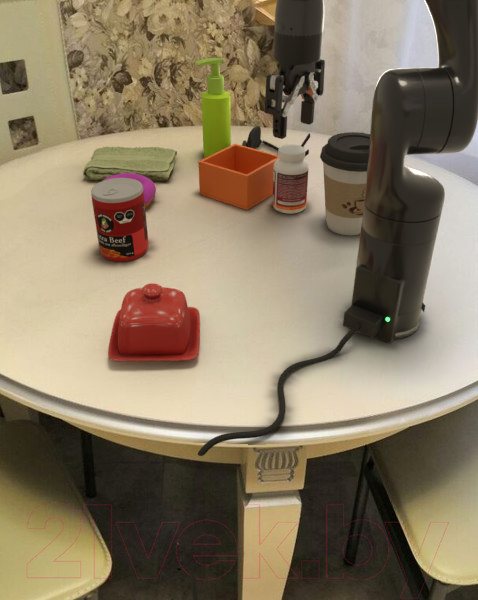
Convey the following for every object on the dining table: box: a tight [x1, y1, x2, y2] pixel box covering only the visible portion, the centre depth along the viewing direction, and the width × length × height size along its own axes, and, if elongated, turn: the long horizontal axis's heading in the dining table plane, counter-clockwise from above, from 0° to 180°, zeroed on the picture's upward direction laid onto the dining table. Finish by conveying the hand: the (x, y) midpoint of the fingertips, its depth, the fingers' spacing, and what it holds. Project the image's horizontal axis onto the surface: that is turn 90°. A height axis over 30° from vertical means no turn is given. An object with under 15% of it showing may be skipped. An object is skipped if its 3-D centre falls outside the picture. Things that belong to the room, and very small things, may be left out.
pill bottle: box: [272, 144, 310, 215], centre depth 110 cm, size 6×6×11 cm
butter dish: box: [107, 282, 201, 362], centre depth 79 cm, size 12×12×8 cm
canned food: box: [90, 178, 149, 263], centre depth 97 cm, size 8×8×11 cm
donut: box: [102, 173, 157, 209], centre depth 113 cm, size 10×10×5 cm
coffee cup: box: [319, 131, 370, 236], centre depth 103 cm, size 11×11×15 cm
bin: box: [197, 143, 279, 211], centre depth 116 cm, size 11×11×7 cm
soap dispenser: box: [194, 57, 232, 158], centre depth 127 cm, size 6×7×20 cm
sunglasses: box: [241, 125, 311, 157], centre depth 129 cm, size 17×14×5 cm
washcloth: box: [82, 146, 178, 182], centre depth 126 cm, size 13×18×3 cm
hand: (293, 130), depth 105 cm, fingers open, 8 cm apart
